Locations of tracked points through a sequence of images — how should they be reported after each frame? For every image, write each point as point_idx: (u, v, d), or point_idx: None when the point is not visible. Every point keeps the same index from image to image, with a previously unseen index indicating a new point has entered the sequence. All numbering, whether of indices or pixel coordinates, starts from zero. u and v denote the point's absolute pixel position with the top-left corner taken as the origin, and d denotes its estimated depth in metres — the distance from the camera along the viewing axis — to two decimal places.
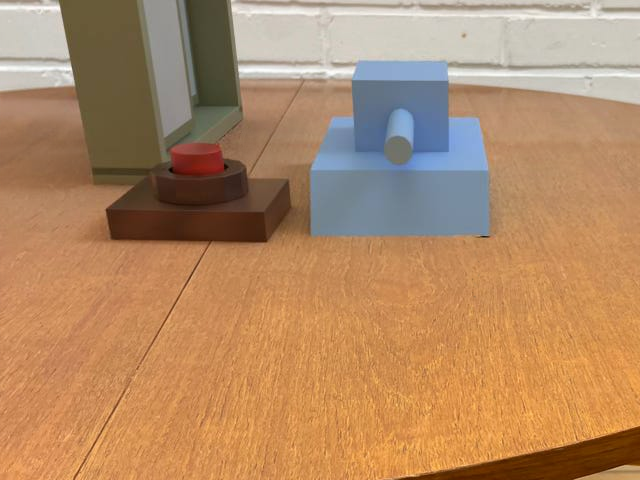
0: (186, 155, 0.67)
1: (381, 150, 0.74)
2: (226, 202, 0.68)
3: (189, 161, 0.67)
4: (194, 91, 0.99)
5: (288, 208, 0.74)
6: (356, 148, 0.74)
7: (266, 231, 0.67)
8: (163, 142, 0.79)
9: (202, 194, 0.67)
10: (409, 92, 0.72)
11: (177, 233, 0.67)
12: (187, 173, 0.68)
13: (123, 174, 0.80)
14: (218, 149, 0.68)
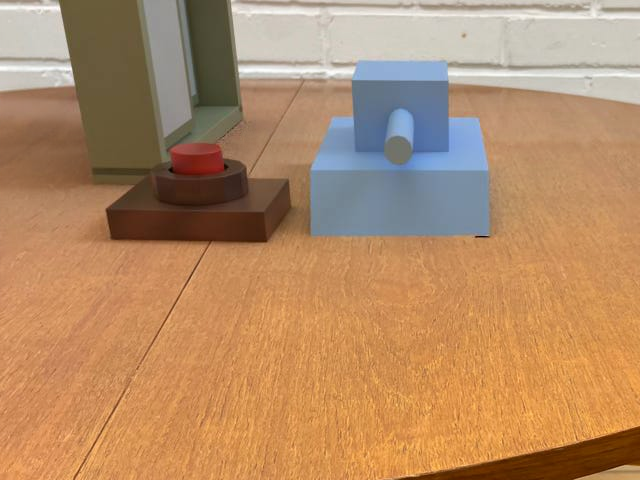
0: (186, 155, 0.67)
1: (381, 150, 0.74)
2: (226, 202, 0.68)
3: (189, 161, 0.67)
4: (194, 91, 0.99)
5: (288, 208, 0.74)
6: (356, 148, 0.74)
7: (266, 231, 0.67)
8: (163, 142, 0.79)
9: (202, 194, 0.67)
10: (409, 92, 0.72)
11: (177, 233, 0.67)
12: (187, 173, 0.68)
13: (123, 174, 0.80)
14: (218, 149, 0.68)
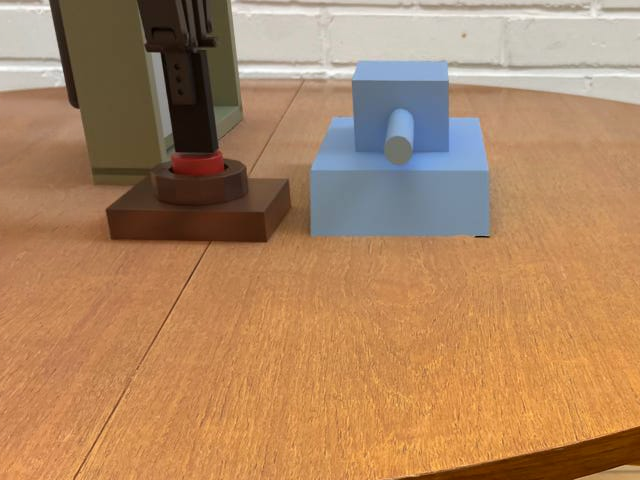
0: (187, 161, 0.67)
1: (381, 150, 0.74)
2: (226, 202, 0.68)
3: (190, 167, 0.68)
4: None
5: (288, 208, 0.74)
6: (356, 148, 0.74)
7: (266, 231, 0.67)
8: (163, 142, 0.79)
9: (202, 194, 0.67)
10: (409, 92, 0.72)
11: (177, 233, 0.67)
12: None
13: (123, 174, 0.80)
14: (219, 154, 0.69)
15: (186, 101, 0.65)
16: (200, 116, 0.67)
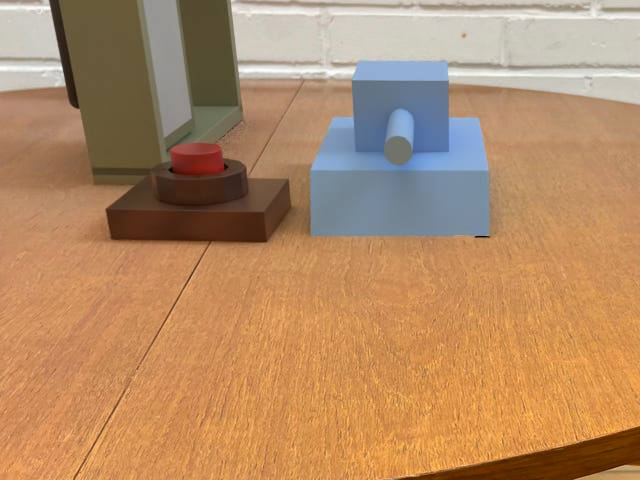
0: (186, 155, 0.67)
1: (381, 150, 0.74)
2: (226, 202, 0.68)
3: (189, 161, 0.67)
4: None
5: (288, 208, 0.74)
6: (356, 148, 0.74)
7: (266, 231, 0.67)
8: (163, 142, 0.79)
9: (202, 194, 0.67)
10: (409, 92, 0.72)
11: (177, 233, 0.67)
12: (187, 173, 0.68)
13: (123, 174, 0.80)
14: (218, 149, 0.68)
15: None
16: None
